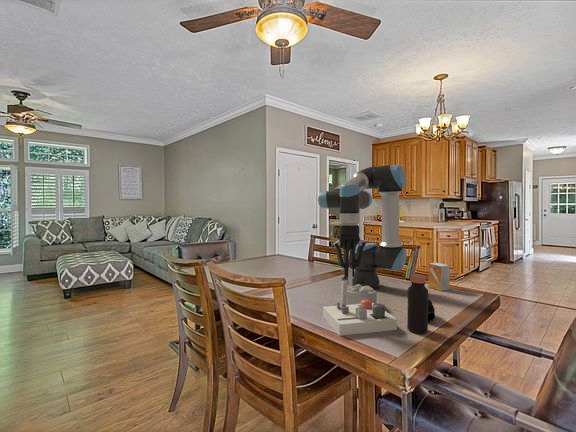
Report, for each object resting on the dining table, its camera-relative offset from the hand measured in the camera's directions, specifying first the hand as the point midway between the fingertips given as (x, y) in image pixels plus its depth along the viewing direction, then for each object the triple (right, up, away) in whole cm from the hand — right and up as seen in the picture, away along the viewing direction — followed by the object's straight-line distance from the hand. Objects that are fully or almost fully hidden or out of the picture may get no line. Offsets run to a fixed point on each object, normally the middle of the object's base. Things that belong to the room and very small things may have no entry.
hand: (349, 284), depth 118 cm
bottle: (+23, -15, -9) cm, 29 cm away
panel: (+3, -14, -1) cm, 15 cm away
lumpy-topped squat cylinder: (+8, -14, +18) cm, 24 cm away
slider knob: (+3, -10, -7) cm, 13 cm away
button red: (+8, -13, +5) cm, 16 cm away
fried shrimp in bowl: (+30, -14, +6) cm, 34 cm away
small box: (+56, -12, +43) cm, 72 cm away
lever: (-2, -9, 0) cm, 9 cm away
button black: (+10, -12, -5) cm, 16 cm away
